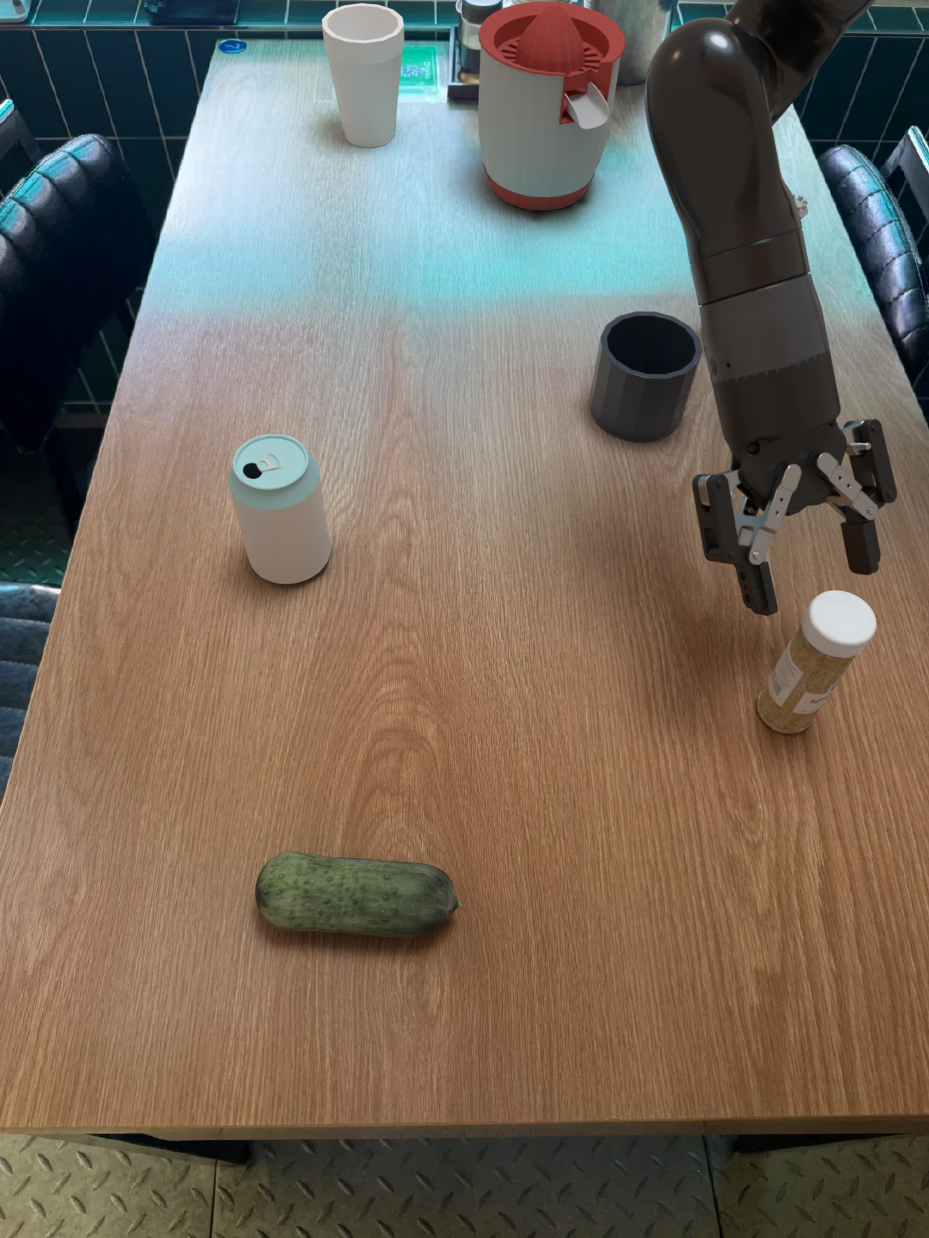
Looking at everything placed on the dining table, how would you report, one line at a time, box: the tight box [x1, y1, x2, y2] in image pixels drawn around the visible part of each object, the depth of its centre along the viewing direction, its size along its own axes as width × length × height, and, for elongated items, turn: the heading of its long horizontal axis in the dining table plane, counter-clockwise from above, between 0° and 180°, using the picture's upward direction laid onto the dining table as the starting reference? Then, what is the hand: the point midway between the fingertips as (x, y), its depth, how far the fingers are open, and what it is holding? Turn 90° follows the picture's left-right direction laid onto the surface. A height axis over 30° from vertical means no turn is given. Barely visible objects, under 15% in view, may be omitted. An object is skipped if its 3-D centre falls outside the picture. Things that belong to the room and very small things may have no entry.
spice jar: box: [756, 589, 877, 735], centre depth 69 cm, size 5×5×13 cm
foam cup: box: [321, 2, 405, 149], centre depth 114 cm, size 10×9×13 cm
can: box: [227, 433, 332, 585], centre depth 77 cm, size 7×7×12 cm
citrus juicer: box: [477, 1, 627, 211], centre depth 105 cm, size 16×17×20 cm
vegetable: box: [254, 850, 463, 939], centre depth 63 cm, size 14×5×5 cm, turn 86°
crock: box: [589, 310, 703, 443], centre depth 90 cm, size 9×9×8 cm
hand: (816, 592), depth 66 cm, fingers open, 8 cm apart
